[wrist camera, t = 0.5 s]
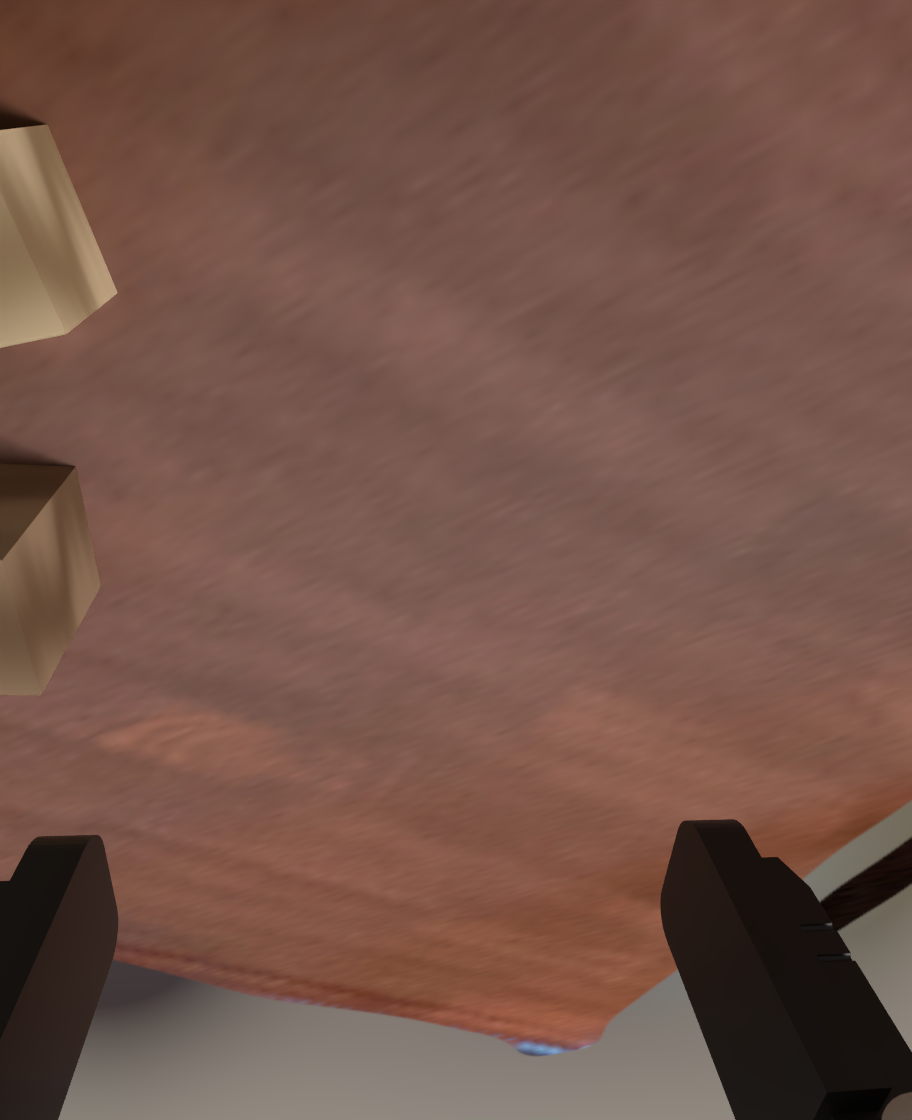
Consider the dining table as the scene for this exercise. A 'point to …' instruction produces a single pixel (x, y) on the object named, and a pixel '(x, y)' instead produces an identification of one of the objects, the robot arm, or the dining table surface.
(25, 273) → the oak cube
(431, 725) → the dining table surface
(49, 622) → the walnut block
